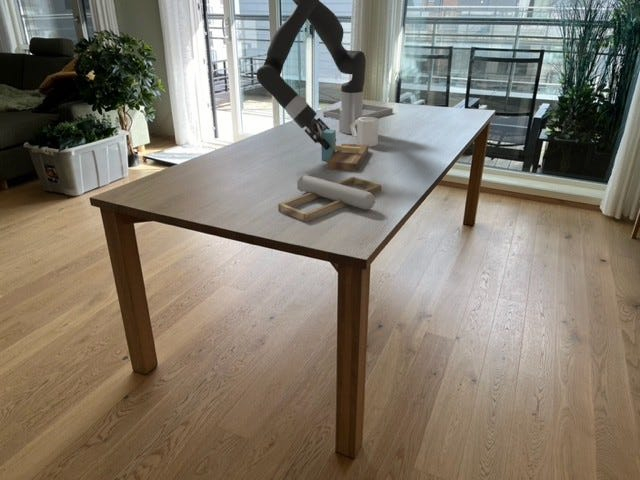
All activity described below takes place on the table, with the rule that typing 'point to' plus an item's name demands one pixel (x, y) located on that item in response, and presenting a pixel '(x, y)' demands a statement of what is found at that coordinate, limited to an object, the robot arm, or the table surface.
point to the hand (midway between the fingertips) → (331, 145)
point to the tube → (336, 192)
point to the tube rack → (287, 205)
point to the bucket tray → (379, 109)
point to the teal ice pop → (334, 145)
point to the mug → (366, 131)
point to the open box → (347, 158)
